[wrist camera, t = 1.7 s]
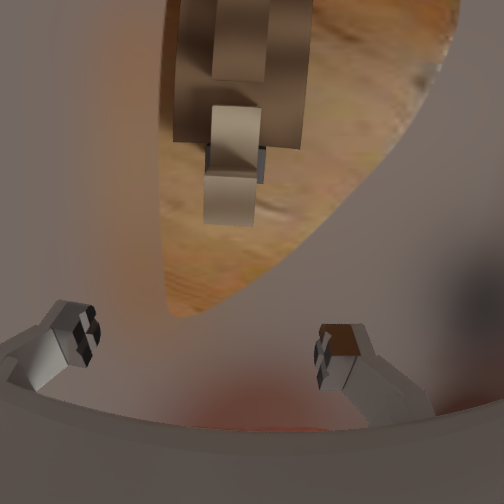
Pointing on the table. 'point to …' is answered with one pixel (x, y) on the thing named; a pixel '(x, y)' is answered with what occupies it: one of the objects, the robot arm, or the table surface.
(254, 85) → the toolbox lid
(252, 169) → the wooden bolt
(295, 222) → the table surface
